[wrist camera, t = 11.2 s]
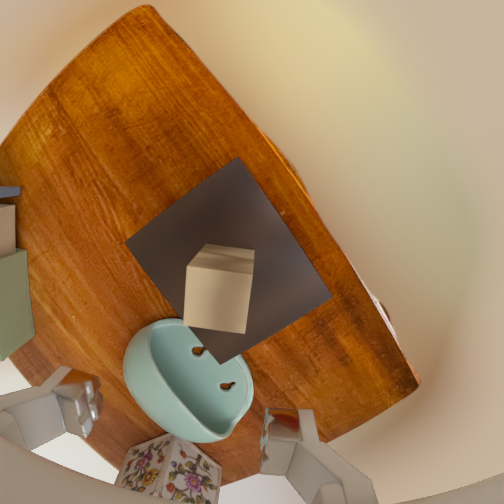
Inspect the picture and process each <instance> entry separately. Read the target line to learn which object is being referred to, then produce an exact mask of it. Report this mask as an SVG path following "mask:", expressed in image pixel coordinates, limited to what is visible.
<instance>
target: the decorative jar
mask: <svg viewBox="0 0 504 504" xmlns="http://www.w3.org/2000/svg"><path fill="white" fill-rule="evenodd" d="M221 473H222V467H221V466H220V465H219V464H217V463H216V462H215V461H214V460H213V459H211V458H210V457H209V456H208V455H206V454H205V453H204V452H203V451H202V450H200V449H199V448H198V447H197V446H196V445H195V444H194V443H192V442H190V441H186V440H183V439H180V438H178V437H176V436H174V435H172V434H170V433H167V434H164V435H162V436H159V437H157V438H154V439H151V440H149V441H146V442H144V443H141V444H138V445H136V446H133V447H131V448H130V450H129V451H128V453H127V456H126V458H125V460H124V462H123V465H122V467H121V469H120V471H119V474H118V476H117V478H116V481H115V483H114V485H116V486H120V487H123V488H126V489H130V490H133V491H137V492H141V493H145V494H149V495H153V496H157V497H161V498H166V499H170V500H175V501H180V502H186V503H191V504H218V498H219V491H220V483H221Z"/></svg>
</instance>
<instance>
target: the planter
mask: <svg viewBox="0 0 504 504" xmlns="http://www.w3.org/2000/svg"><path fill="white" fill-rule="evenodd" d="M193 347H203V344H202V343H201V342H200V341H199V340H198V338H197V337H196V336H195V335H194V334H193V332H192V331H191V330H190V329H189V327H188V326H185V325H183V320H182V319H176V318H170V319H163V320H159V321H156V322H154V323H151V324H149V325H147V326H145V327H143V328H142V329H140V330H139V331H138V332H137V333H136V334H135V335H134V336H133V338H132V339H131V341H130V342H129V344H128V346H127V349H126V352H125V355H124V360H123V376H124V380H125V383H126V386H127V388H128V390H129V392H130V394H131V395H132V397H133V398H134V400H135V401H136V402H137V404H138V405H139V406H140V408H141V409H142V410H143V411H144V412H145V413H146V414H147V415H148V416H149V417H150V418H151V419H152V420H153V421H154V422H156V423H157V424H158V425H159V426H160V427H162V428H163V429H164V430H166V431H167V432H169V433H170V434H172V435H174V436H176V437H178V438H180V439H183V440H186V441H190V442H194V443H212V442H217V441H220V440H223V439H225V438H227V437H228V436H229V435H230V434H231V433H232V431H233V429H234V427H235V425H236V424H237V422H238V421H239V420H240V419H241V418H242V417H243V415H244V414H245V413H246V412H247V410H248V409H249V407H250V405H251V403H252V399H253V392H254V388H253V380H252V376H251V372H250V369H249V367H248V365H247V363H246V361H245V359H244V358H243V356H242V355H241V354H239V355H237V356H236V357H234V358H232V359H230V360H229V361H227V362H225V363H223V364H221V365H220V364H219V363H218V362H217V361H216V360H215V358H214V357H213V356H212V355H211V354H210V353H209V351H208V350H207V349H205V350H204V351H203V353H202V354H201V355H197V354H195V353H193V351H192V348H193ZM230 382H235V383H234V384H232V385H231V387H230V388H229V389H227V390H225V389H222V388H221V387H220V384H222V383H230Z"/></svg>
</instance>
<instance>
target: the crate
mask: <svg viewBox="0 0 504 504" xmlns="http://www.w3.org/2000/svg"><path fill="white" fill-rule="evenodd" d="M125 244H126V245H127V247H128V248H129V250H130V251H131V252H132V254H133V255H134V257H135V258H136V259H137V261H138V262H139V264H140V265H141V266H142V268H143V269H144V270H145V272H146V273H147V274H148V276H149V277H150V279H151V280H152V281H153V283H154V284H155V285H156V287H157V288H158V289H159V290H160V292H161V293H162V294H163V296H164V297H165V298H166V300H167V301H168V302H169V303H170V305H171V306H172V307H173V309H174V310H175V311H176V312H177V314H178V315H179V316H180V317H181V319H182V320H183V318H184V300H185V284H186V269H187V265H188V264H189V263H190V262H191V261H192V259H193V258H194V257H195V256H196V255H197V254H198V252H199V251H200V250H201V249H202V248H203V247H204V245H205V244H212V245H220V246H227V247H235V248H243V249H251V250H255V253H254V266H253V277H252V285H251V293H250V300H249V308H248V315H247V323H246V330H245V334H241V333H233V332H226V331H219V330H212V329H205V328H198V327H192V326H188V327H189V329H190V330H191V331H192V332H193V334H194V335H195V336H196V337H197V338H198V340H199V341H200V342H201V343H202V344H203V346H204V347H205V348H206V349H207V350H208V351H209V353H210V354H211V355H212V356H213V357H214V358H215V360H216V361H217V362H218V363H219V364H220V365H221V364H223V363H225V362H227V361H229V360H230V359H232V358H234V357H236V356H237V355H239V354H241V353H243V352H244V351H246V350H248V349H250V348H251V347H253V346H255V345H256V344H258V343H260V342H262V341H263V340H265V339H267V338H268V337H270V336H272V335H273V334H275V333H277V332H278V331H280V330H282V329H283V328H285V327H286V326H288V325H290V324H291V323H293V322H295V321H296V320H298V319H299V318H301V317H303V316H304V315H306V314H307V313H309V312H310V311H312V310H314V309H315V308H317V307H318V306H320V305H321V304H323V303H324V302H326V301H328V300H329V299H331V298H332V297H333V295H332V294H331V292H330V291H329V289H328V287H327V286H326V284H325V282H324V281H323V279H322V278H321V276H320V274H319V273H318V271H317V269H316V268H315V266H314V265H313V263H312V262H311V260H310V259H309V257H308V256H307V254H306V253H305V251H304V250H303V248H302V247H301V245H300V244H299V242H298V241H297V239H296V238H295V236H294V235H293V233H292V232H291V230H290V229H289V227H288V226H287V224H286V223H285V221H284V220H283V218H282V217H281V215H280V214H279V213H278V211H277V210H276V208H275V207H274V205H273V204H272V202H271V201H270V199H269V198H268V197H267V195H266V194H265V192H264V191H263V189H262V188H261V187H260V185H259V184H258V182H257V181H256V179H255V178H254V177H253V175H252V174H251V172H250V171H249V169H248V168H247V167H246V165H245V164H244V163H243V162H242V160H241V159H240V158H239V157H236V158H235V159H234V160H232V161H231V162H229V163H228V164H226V165H225V166H224V167H222V168H221V169H219V170H218V171H217V172H215V173H214V174H212V175H211V176H210V177H208V178H207V179H206V180H204V181H203V182H201V183H200V184H199V185H197V186H196V187H195V188H193V189H192V190H191V191H189V192H188V193H187V194H185V195H184V196H183V197H181V198H180V199H179V200H177V201H176V202H175V203H173V204H172V205H171V206H170V207H168V208H167V209H166V210H164V211H163V212H162V213H161V214H159V215H158V216H157V217H155V218H154V219H153V220H152V221H150V222H149V223H148V224H147V225H145V226H144V227H143V228H142V229H140V230H139V231H138V232H137V233H136V234H134V235H133V236H132V237H131V238H129V239H128V240H127V241H126V242H125Z"/></svg>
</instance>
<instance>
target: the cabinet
mask: <svg viewBox="0 0 504 504" xmlns="http://www.w3.org/2000/svg"><path fill="white" fill-rule="evenodd" d="M34 336H35V328H34V322H33V315H32V307H31V299H30V290H29V279H28V265H27V250H24V249H19V248H16V252H14V253H12V254H9V255H6V256H4V257H1V258H0V361H4V360H5V359H6V358H7V357H8V356H10V355H11V354H12V353H13V352H15V351H16V350H17V349H18V348H20V347H21V346H22V345H23V344H25V343H26V342H27V341H28V340H30V339H31V338H32V337H34Z"/></svg>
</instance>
